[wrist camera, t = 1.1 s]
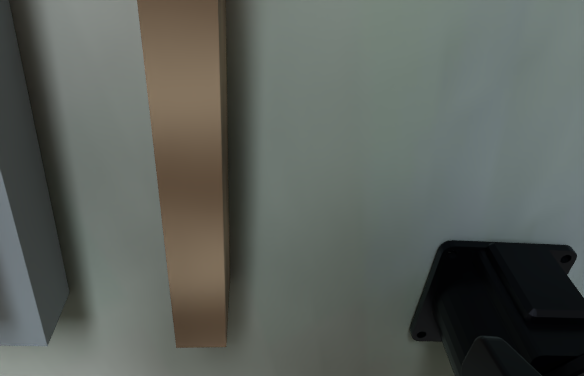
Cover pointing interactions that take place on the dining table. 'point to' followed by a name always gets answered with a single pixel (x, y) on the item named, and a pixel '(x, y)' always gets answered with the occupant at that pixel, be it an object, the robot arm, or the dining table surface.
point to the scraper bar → (191, 158)
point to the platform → (24, 212)
